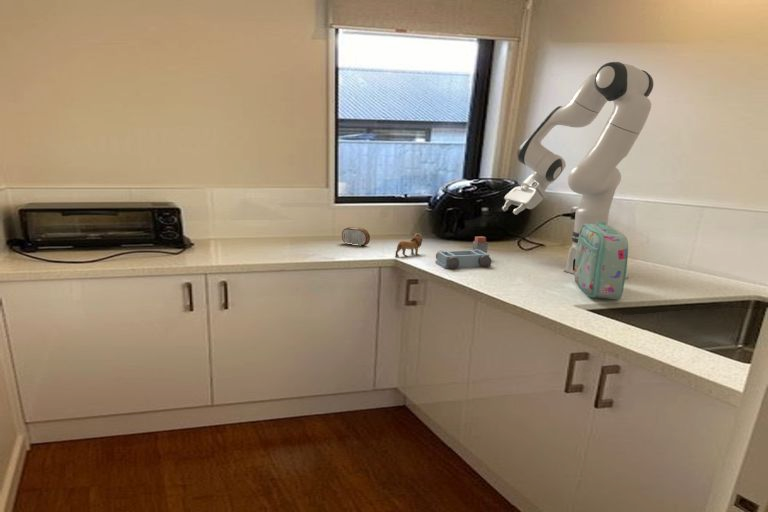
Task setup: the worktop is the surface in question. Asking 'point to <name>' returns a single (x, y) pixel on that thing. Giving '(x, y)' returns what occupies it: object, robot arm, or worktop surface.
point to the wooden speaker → (356, 236)
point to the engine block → (480, 244)
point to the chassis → (463, 259)
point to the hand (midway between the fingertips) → (508, 211)
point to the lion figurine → (410, 245)
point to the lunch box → (601, 261)
